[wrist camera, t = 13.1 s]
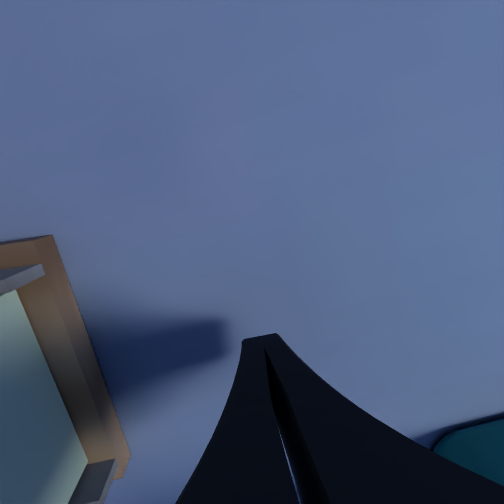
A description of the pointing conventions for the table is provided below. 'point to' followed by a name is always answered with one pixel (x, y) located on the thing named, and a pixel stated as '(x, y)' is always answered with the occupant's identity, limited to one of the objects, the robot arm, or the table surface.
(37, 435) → the grey flat block
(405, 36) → the table surface
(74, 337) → the press bed
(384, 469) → the robot arm
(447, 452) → the pitcher
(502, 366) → the table surface
